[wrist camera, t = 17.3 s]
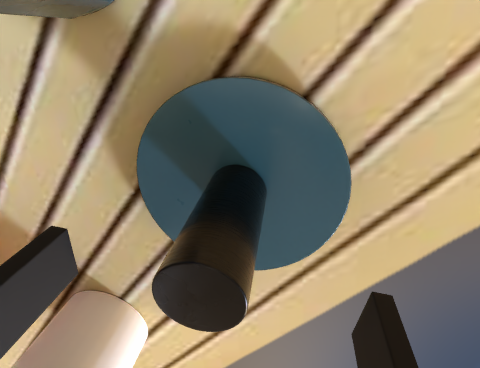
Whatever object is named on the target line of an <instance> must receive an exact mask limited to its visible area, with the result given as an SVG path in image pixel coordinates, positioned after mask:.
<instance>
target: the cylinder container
mask: <svg viewBox="0 0 480 368" xmlns="http://www.w3.org/2000/svg"><path fill="white" fill-rule="evenodd" d="M147 336H148V328H147V325H146V322H145V320H144V319H143V317H142V316H141V315H140V314H139V312H138V311H137V310H136V309H134V308H133V307H132V306H131V305H129V304H128V303H126V302H125V301H123V300H121V299H120V298H118V297H115V296H113V295H110V294H107V293H104V292H99V291H82V292H78V293H76V294H74V295H73V296H72V297H71V298H70V299H69V301H68V302H67V303H66V304H65V305H64V306H63V308H62V309H61V310H60V311H59V312H58V314H57V315H56V316H55V317H54V318H53V319H52V321H51V322H50V323H49V324H48V325H47V326H46V328H45V329H44V330H43V331H42V332H41V334H40V335H39V336H38V337H37V338H36V339H35V341H34V342H33V343H32V344H31V345H30V347H29V348H28V349H27V350H26V351H25V352H24V354H23V355H22V356H21V357H20V358H19V359H18V361H17V362H16V363H15V364H14V365H13V367H12V368H132V367H133V365H134V363H135V361H136V359H137V357H138V355H139V353H140V351H141V349H142V347H143V345H144V343H145V340H146V338H147Z"/></svg>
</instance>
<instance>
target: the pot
mask: <svg viewBox="0 0 480 368" xmlns="http://www.w3.org/2000/svg"><path fill="white" fill-rule="evenodd" d="M113 1H114V0H0V14H11V15H26V16H41V17H56V18H71V19H72V18H76V17H78V16H83V15H87V14H90V13H93V12H96V11H98V10H100V9H102V8H104V7H106V6H107V5H109V4H110V3H112V2H113Z"/></svg>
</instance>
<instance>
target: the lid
mask: <svg viewBox="0 0 480 368" xmlns="http://www.w3.org/2000/svg"><path fill="white" fill-rule="evenodd" d="M137 177H138V183H139V187H140V191H141V194H142V197H143V200H144V202H145V204H146V206H147V208H148V210H149V212H150V214H151V215H152V217H153V219H154V220H155V221H156V223H157V224H158V225H159V227H160V228H161V229H162V230H163V231H164V232H165V233H166V234H167V235H168V236H169V237H170V238H171V239H172V240H173V241H174V243H173V245H172V247H171V249H170V250H169V252H168V254H167V255H166V257H165V259H164V261H163V262H162V264H161V266H160V268H159V269H158V271H157V273H156V275H155V276H154V279H153V282H152V293H153V297H154V299H155V301H156V303H157V305H158V306H159V307H160V309H161V310H162V311H163V312H164V313H165V314H166V315H167V316H169V317H170V318H171V319H173V320H174V321H176V322H178V323H179V324H181V325H184V326H186V327H189V328H191V329H195V330H199V331H206V332H218V331H224V330H228V329H231V328H233V327H235V326H236V325H238V324H239V323H240V322H241V321H242V320H243V318H244V317H245V315H246V313H247V309H248V303H249V297H250V292H251V286H252V280H253V274H254V270H268V269H275V268H279V267H283V266H287V265H290V264H292V263H295V262H298V261H300V260H302V259H304V258H305V257H307V256H309V255H311V254H312V253H314V252H315V251H316V250H318V249H319V248H320V247H321V246H322V245H324V244H325V243H326V242H327V241H328V240H329V239H330V237H331V236H332V235H333V234H334V233H335V231H336V230H337V228H338V226H339V225H340V223H341V222H342V220H343V217H344V215H345V213H346V210H347V207H348V203H349V199H350V193H351V170H350V165H349V161H348V156H347V154H346V151H345V149H344V146H343V143H342V141H341V139H340V137H339V136H338V134H337V132H336V130H335V129H334V127H333V126H332V124H331V123H330V122H329V121H328V119H327V118H326V117H325V116H324V114H323V113H322V112H321V111H319V110H318V109H317V108H316V107H315V106H314V105H313V104H312V103H311V102H309V101H308V100H306V99H305V98H304V97H302V96H301V95H299V94H298V93H296V92H294V91H292V90H290V89H288V88H286V87H284V86H282V85H279V84H276V83H273V82H270V81H267V80H262V79H257V78H252V77H239V76H232V77H220V78H215V79H210V80H206V81H202V82H200V83H197V84H195V85H192V86H190V87H187V88H186V89H184V90H182V91H180V92H179V93H177V94H175V95H174V96H173V97H171V98H170V99H169V100H168V101H166V102H165V103H164V104H163V105H162V106H161V107H160V108H159V109H158V110H157V111H156V113H155V114H154V115H153V117H152V118H151V120H150V121H149V123H148V124H147V126H146V128H145V130H144V133H143V135H142V137H141V141H140V145H139V148H138V155H137Z"/></svg>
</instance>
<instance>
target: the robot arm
mask: <svg viewBox="0 0 480 368" xmlns="http://www.w3.org/2000/svg"><path fill="white" fill-rule="evenodd" d="M77 274H78V269H77V265H76V262H75V258H74V254H73V250H72V246H71V242H70V238H69V234H68V231H67V229H65V228H60V227H55V226H51V227H49V228H48V229H47V230H45V231H44V232H43V233H42V234H40V235H39V236H38V237H36V238H35V239H34V240H33V241H31V242H30V243H29V244H28V245H26V246H25V247H24V248H22V249H21V250H20V251H19V252H17V253H16V254H15V255H14V256H12V257H11V258H10V259H8V260H7V261H6V262H5V263H3V264H2V265H1V266H0V359H1V358H2V357H3V356H4V355H5V353H6V352H7V351H8V350H9V349H10V348H11V347H12V346H13V345H14V344H15V343H16V341H17V340H18V339H19V338H20V337H21V336H22V335H23V334H24V333H25V332H26V330H27V329H28V328H29V327H30V326H31V325H32V324H33V323H34V322H35V321H36V319H37V318H38V317H39V316H40V315H41V314H42V313H43V312H44V311H45V310H46V308H47V307H48V306H49V305H50V304H51V303H52V302H53V301H54V300H55V299H56V298H57V296H58V295H59V294H60V293H61V292H62V291H63V290H64V289H65V288H66V287H67V285H68V284H69V283H70V282H71V281H72V280H73V279H74V278H75V277H76V276H77ZM352 339H353V344H354V350H355V355H356V361H357V366H358V368H418V365H417V362H416V360H415V357H414V354H413V351H412V349H411V346H410V343H409V340H408V338H407V335H406V332H405V330H404V327H403V324H402V321H401V319H400V316H399V313H398V310H397V307H396V305H395V302H394V299H393V296H391V295H387V294H381V293H377V292H372V293H371V295H370V297H369V299H368V301H367V303H366V305H365V307H364V309H363V311H362V314H361V316H360V318H359V320H358V322H357V324H356V326H355V328H354V330H353V333H352Z"/></svg>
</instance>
